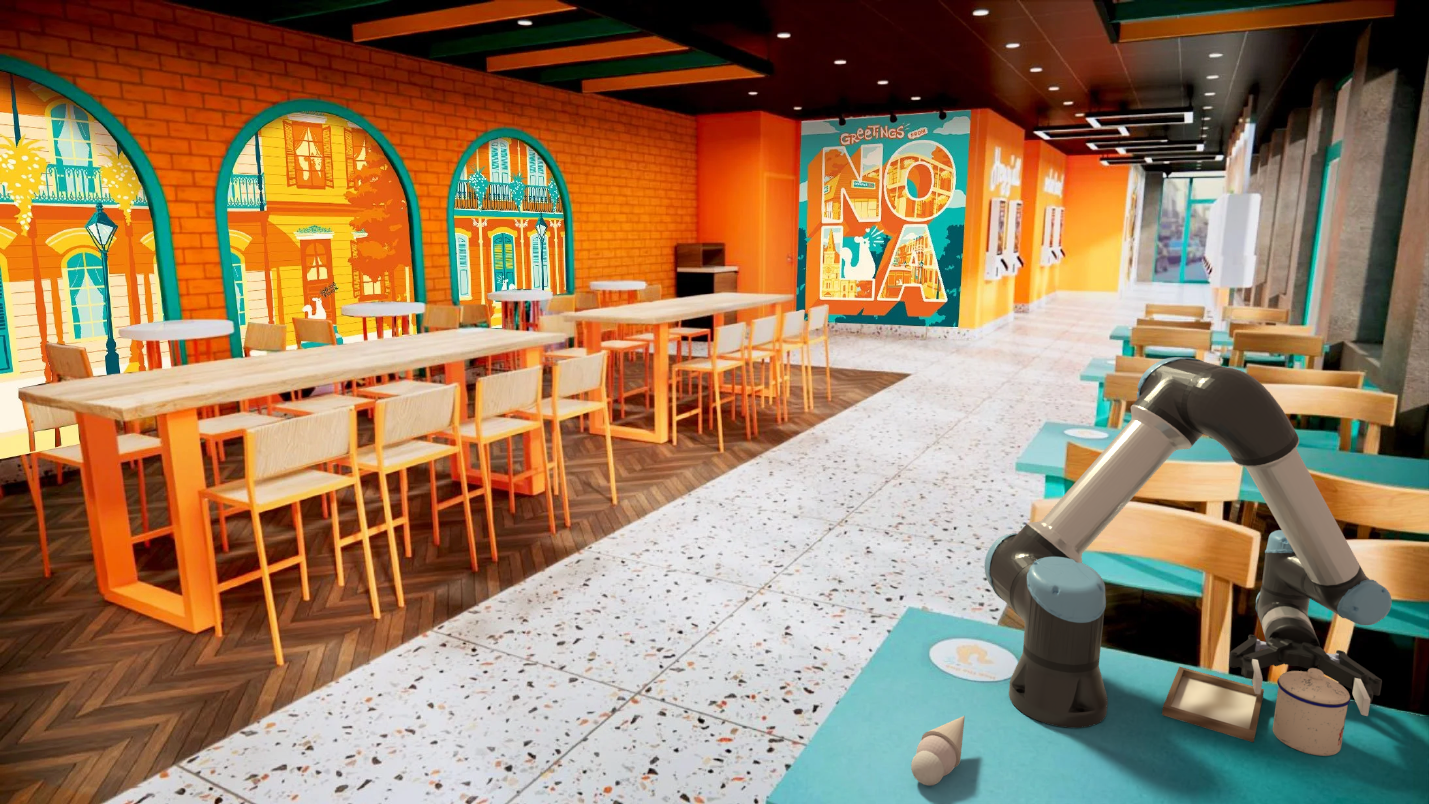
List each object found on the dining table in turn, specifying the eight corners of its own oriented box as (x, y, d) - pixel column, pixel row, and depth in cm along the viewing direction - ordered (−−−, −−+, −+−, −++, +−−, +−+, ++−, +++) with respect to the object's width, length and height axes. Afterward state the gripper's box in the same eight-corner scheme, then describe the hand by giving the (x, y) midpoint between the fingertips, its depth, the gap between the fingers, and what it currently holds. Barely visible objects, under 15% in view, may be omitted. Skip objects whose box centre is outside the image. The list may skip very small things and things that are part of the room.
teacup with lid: (1355, 761, 124) (1366, 689, 121) (1286, 754, 125) (1296, 683, 123) (1314, 715, 135) (1324, 649, 133) (1252, 710, 137) (1261, 644, 135)
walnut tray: (1161, 714, 136) (1162, 706, 135) (1178, 674, 148) (1179, 666, 148) (1253, 742, 128) (1254, 733, 128) (1263, 697, 141) (1264, 689, 140)
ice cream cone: (968, 739, 130) (924, 803, 119) (938, 708, 131) (892, 768, 121) (992, 723, 126) (949, 788, 115) (961, 691, 127) (916, 752, 117)
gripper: (1375, 672, 142) (1409, 739, 124) (1205, 641, 153) (1214, 699, 135) (1382, 631, 141) (1418, 693, 122) (1210, 603, 152) (1219, 656, 133)
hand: (1311, 696), depth 128 cm, fingers open, 13 cm apart
